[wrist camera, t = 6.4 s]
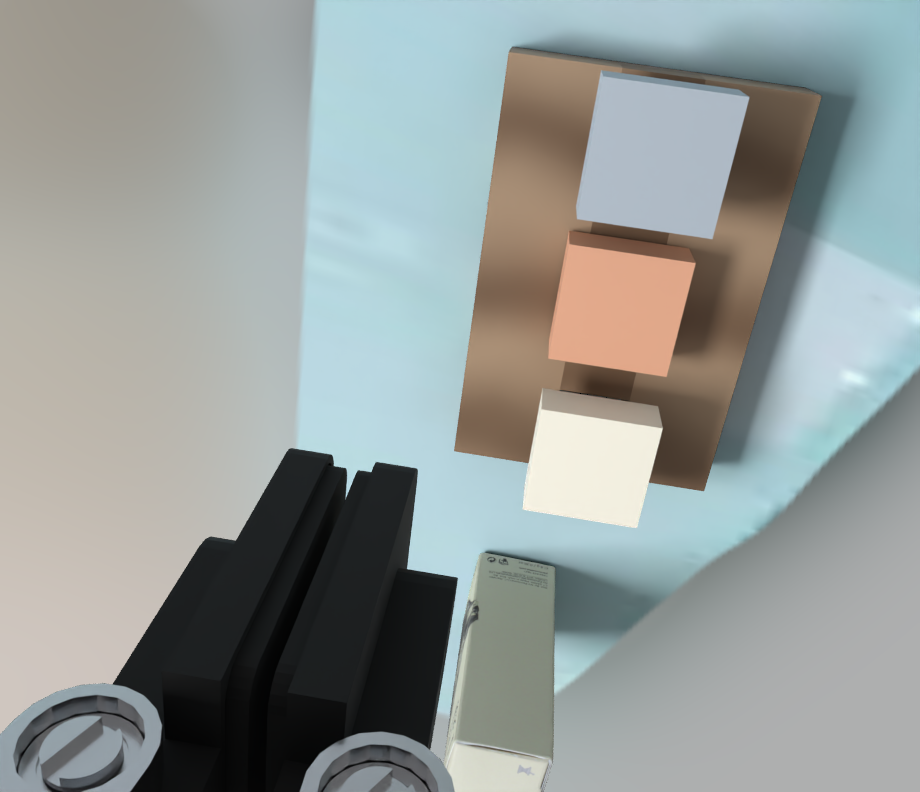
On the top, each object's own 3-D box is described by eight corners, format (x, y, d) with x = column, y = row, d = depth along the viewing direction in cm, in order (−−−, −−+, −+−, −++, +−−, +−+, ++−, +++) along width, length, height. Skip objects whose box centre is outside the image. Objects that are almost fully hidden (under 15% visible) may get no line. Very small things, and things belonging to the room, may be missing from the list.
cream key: (543, 364, 39) (541, 409, 35) (652, 381, 39) (662, 428, 35) (526, 457, 42) (522, 509, 38) (629, 473, 41) (636, 528, 37)
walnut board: (512, 46, 35) (508, 51, 33) (805, 87, 35) (821, 95, 33) (459, 426, 44) (454, 451, 41) (696, 464, 43) (704, 491, 41)
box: (479, 547, 47) (451, 735, 35) (558, 564, 47) (556, 758, 35) (462, 620, 49) (431, 819, 38) (537, 636, 49) (529, 840, 38)
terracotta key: (568, 215, 38) (569, 244, 34) (681, 231, 38) (695, 263, 34) (549, 319, 40) (548, 358, 36) (656, 336, 40) (666, 376, 36)
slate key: (598, 63, 34) (603, 76, 30) (727, 81, 33) (749, 96, 29) (575, 190, 36) (576, 219, 32) (695, 208, 36) (712, 239, 32)
